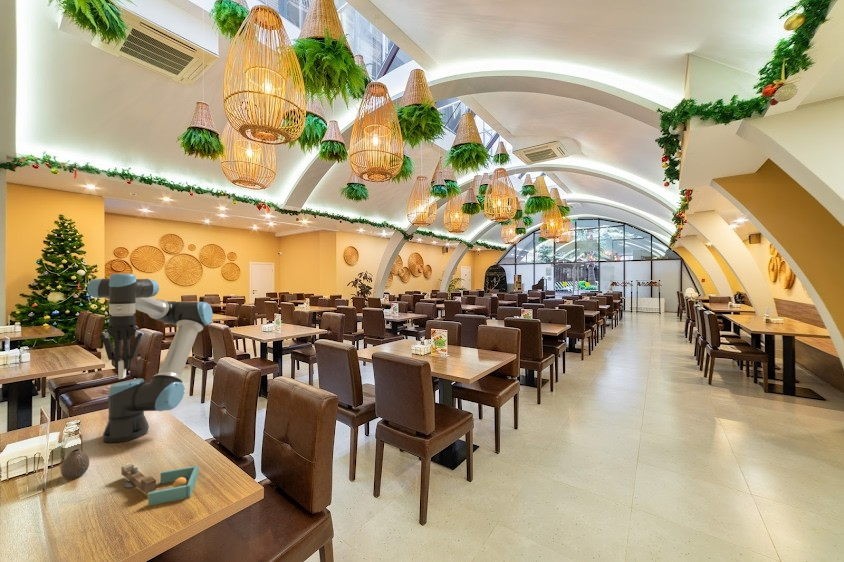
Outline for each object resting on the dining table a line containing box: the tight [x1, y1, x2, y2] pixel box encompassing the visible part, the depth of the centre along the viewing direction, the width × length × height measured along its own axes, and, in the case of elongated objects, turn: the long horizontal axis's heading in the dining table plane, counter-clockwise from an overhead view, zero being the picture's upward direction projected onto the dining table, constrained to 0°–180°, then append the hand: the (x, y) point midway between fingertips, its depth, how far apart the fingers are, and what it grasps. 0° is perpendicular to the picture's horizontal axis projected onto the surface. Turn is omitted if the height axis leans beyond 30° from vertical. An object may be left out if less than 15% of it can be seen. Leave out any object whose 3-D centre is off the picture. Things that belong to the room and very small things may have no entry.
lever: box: [120, 462, 157, 495], centre depth 113 cm, size 20×2×4 cm, turn 58°
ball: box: [172, 477, 188, 488], centre depth 111 cm, size 4×4×4 cm
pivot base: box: [123, 480, 137, 489], centre depth 114 cm, size 5×5×1 cm
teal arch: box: [147, 465, 199, 506], centre depth 111 cm, size 13×10×4 cm
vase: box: [60, 448, 90, 480], centre depth 118 cm, size 7×7×9 cm
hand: (122, 377), depth 129 cm, fingers closed
